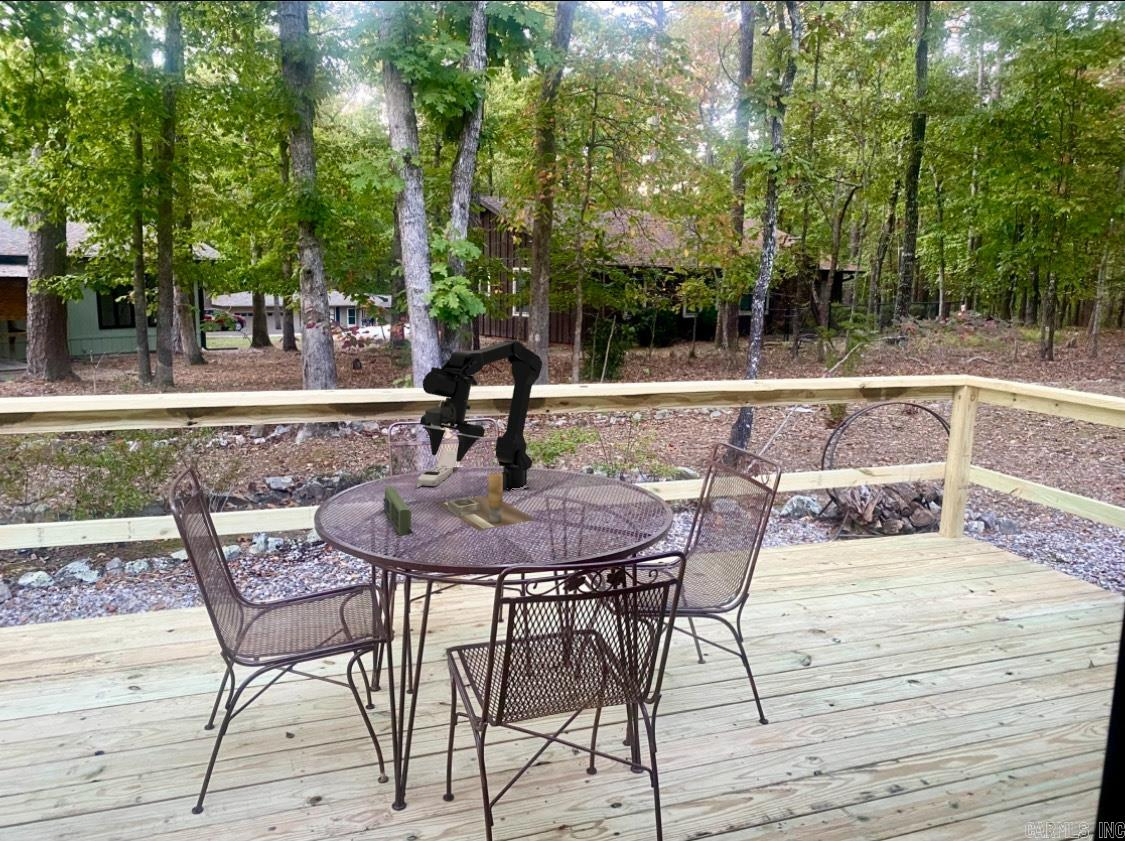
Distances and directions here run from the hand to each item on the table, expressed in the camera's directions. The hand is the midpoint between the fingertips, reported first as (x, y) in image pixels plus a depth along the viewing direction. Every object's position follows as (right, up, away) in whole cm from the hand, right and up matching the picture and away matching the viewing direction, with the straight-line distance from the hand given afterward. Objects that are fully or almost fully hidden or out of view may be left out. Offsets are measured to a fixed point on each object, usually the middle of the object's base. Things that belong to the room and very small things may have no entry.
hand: (445, 458), depth 190 cm
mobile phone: (-7, -8, +32) cm, 34 cm away
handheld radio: (-12, -15, -4) cm, 20 cm away
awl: (+14, -15, -9) cm, 23 cm away
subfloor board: (+10, -15, -2) cm, 18 cm away
